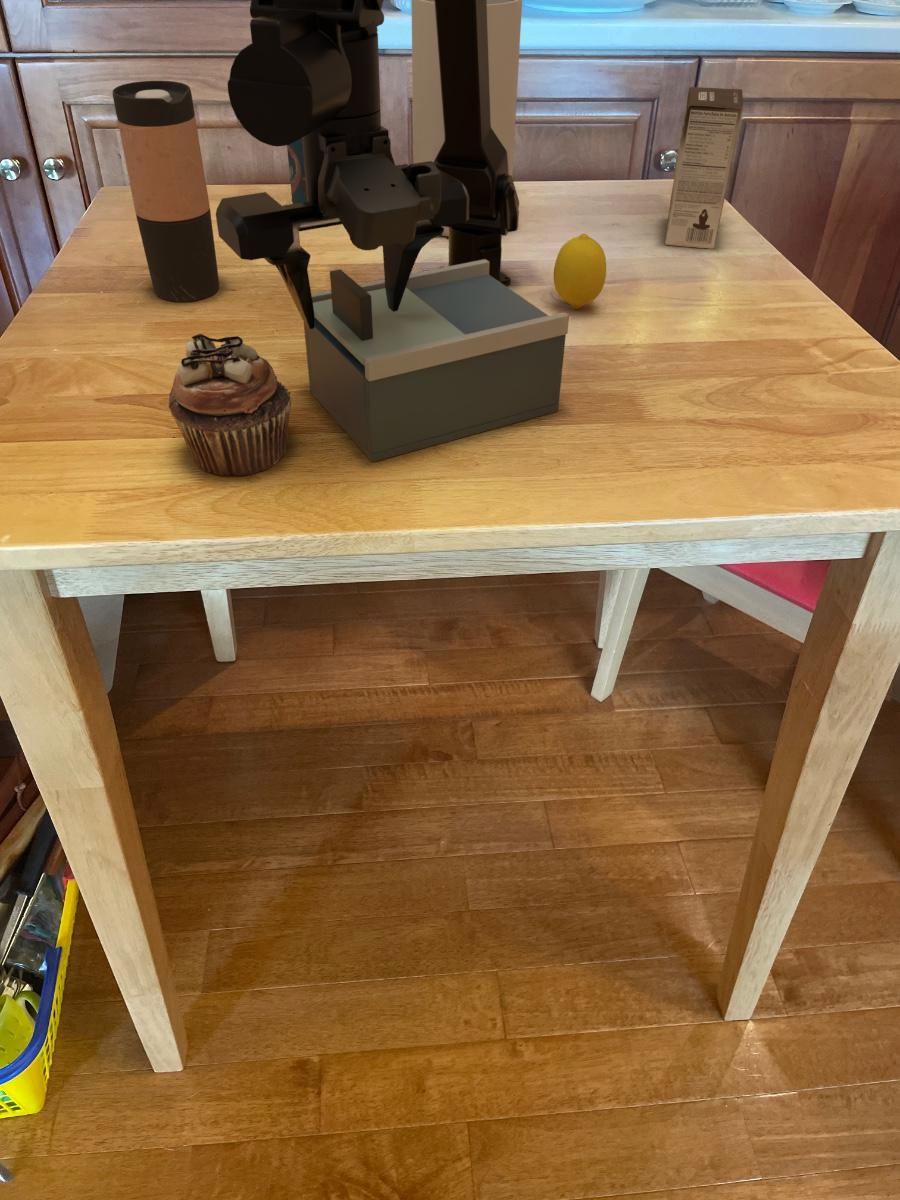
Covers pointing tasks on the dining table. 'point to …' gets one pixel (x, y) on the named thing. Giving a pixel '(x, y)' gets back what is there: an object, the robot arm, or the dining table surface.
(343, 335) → the slide door
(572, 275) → the lemon
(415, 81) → the cylinder vase
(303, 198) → the soda can
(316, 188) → the robot arm
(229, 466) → the cupcake
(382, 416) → the chest
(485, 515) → the dining table surface
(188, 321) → the dining table surface
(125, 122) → the travel mug
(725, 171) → the coffee box
